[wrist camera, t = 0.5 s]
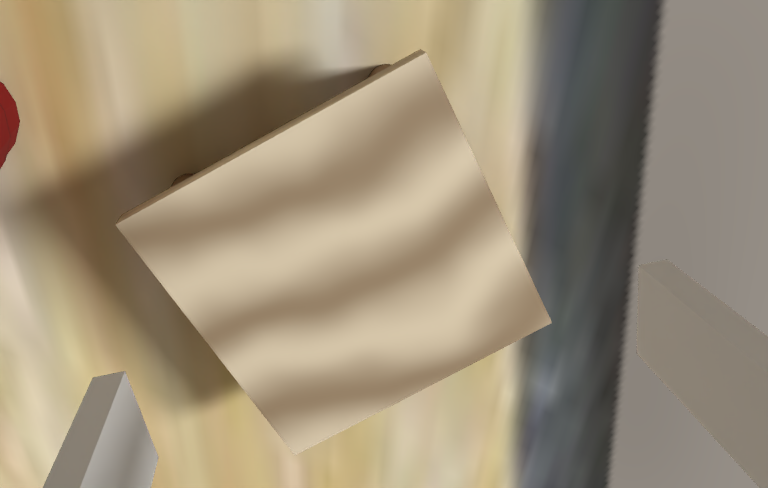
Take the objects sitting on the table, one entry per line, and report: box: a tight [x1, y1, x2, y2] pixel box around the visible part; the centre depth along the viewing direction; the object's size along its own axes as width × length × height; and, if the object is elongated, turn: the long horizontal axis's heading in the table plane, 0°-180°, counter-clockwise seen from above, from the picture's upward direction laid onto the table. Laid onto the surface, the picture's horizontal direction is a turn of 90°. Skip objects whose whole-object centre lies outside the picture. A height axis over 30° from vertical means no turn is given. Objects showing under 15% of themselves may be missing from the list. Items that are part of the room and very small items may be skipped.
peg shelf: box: [115, 49, 552, 455], centre depth 39 cm, size 18×18×8 cm
